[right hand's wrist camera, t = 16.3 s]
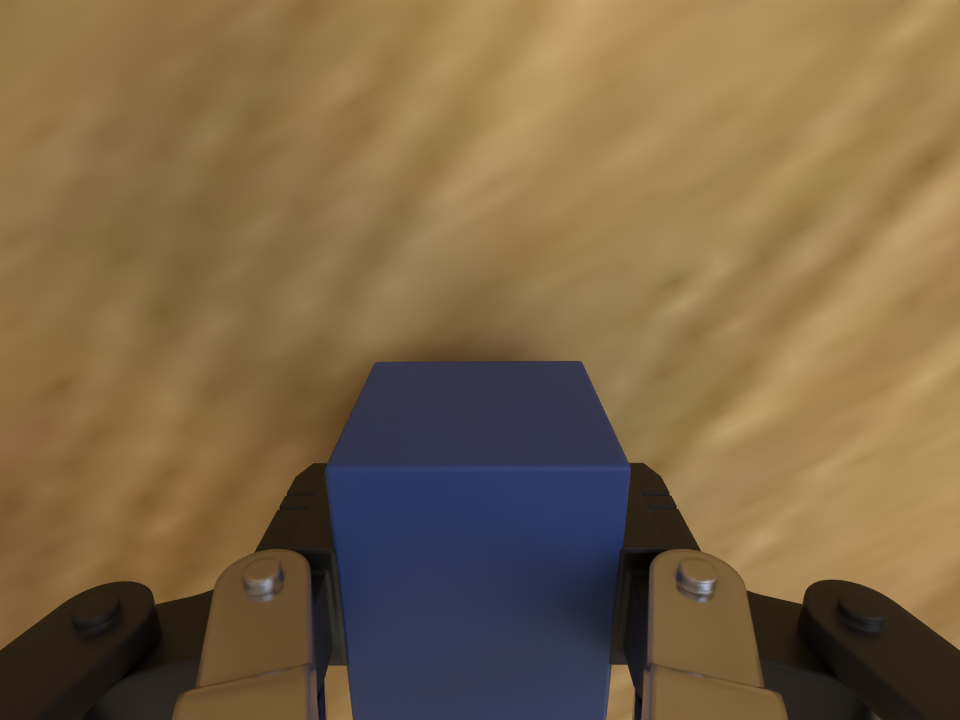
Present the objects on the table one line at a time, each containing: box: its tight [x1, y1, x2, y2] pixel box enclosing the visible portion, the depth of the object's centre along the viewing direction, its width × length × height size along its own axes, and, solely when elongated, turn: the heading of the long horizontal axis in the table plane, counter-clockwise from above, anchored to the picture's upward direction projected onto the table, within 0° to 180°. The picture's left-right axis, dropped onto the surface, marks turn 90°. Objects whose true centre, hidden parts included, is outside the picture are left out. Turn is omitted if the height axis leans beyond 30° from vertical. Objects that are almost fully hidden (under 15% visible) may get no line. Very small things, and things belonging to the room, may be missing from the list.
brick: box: [325, 361, 631, 720], centre depth 11 cm, size 4×5×4 cm
